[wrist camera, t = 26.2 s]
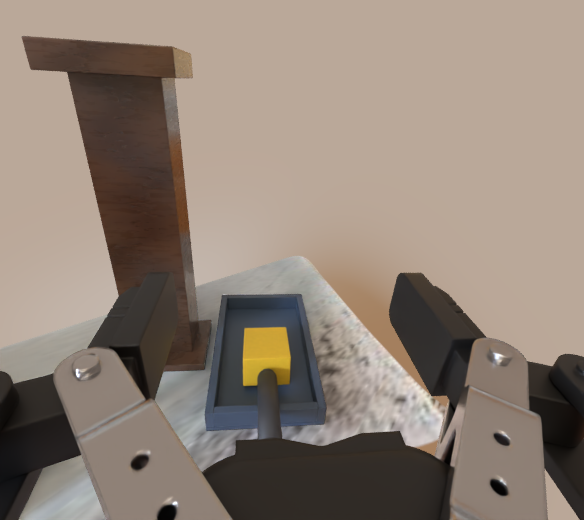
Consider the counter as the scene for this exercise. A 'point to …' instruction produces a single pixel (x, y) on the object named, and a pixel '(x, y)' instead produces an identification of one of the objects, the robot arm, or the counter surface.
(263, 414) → the sponge brush
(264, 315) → the tray
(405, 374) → the counter surface
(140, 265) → the wooden pedestal stand
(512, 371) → the robot arm
